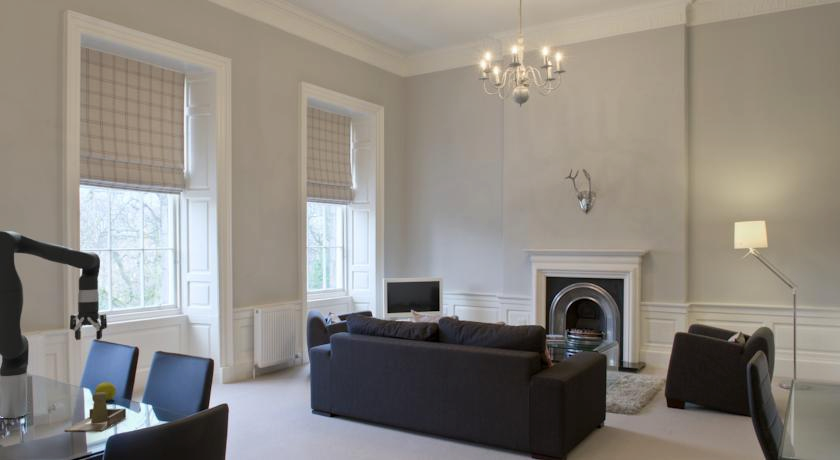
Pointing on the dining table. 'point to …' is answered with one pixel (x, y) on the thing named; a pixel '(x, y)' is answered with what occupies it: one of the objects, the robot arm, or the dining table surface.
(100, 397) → the olive double-lobed piece
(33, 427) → the dining table surface
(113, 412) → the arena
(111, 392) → the lemon
